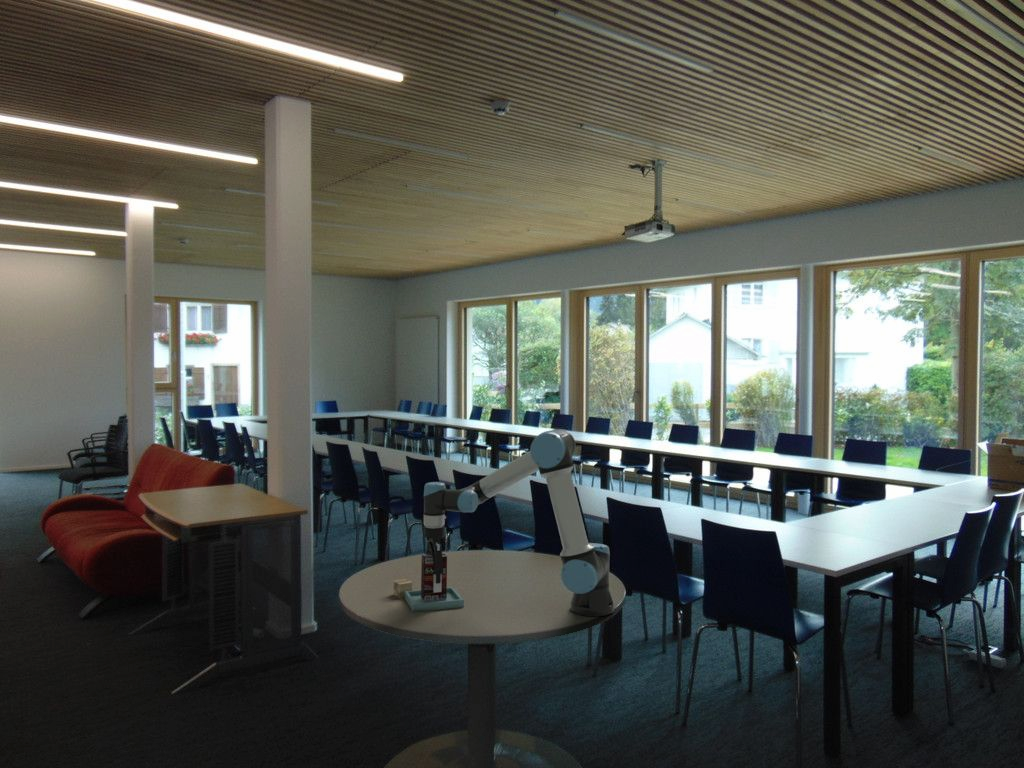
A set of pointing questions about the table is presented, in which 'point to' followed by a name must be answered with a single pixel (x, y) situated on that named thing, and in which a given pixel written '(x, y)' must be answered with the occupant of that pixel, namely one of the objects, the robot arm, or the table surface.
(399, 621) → the table surface
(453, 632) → the table surface
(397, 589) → the oak cube
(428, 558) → the supplement box
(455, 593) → the tray
